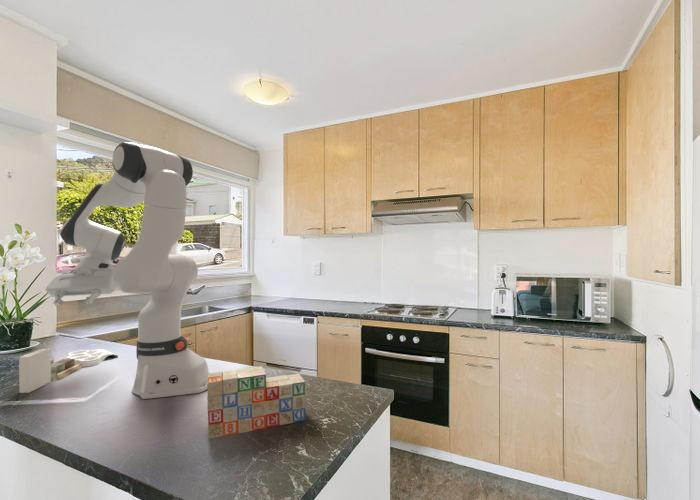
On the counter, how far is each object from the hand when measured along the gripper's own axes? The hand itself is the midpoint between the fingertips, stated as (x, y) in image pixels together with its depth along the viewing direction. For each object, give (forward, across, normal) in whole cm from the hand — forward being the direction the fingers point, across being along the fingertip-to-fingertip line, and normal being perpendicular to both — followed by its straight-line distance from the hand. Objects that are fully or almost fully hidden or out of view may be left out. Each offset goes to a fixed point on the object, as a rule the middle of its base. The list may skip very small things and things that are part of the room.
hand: (72, 303), depth 114 cm
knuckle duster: (+7, -4, +27) cm, 28 cm away
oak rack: (+17, -6, +16) cm, 24 cm away
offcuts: (+16, -4, +15) cm, 23 cm away
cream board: (+25, -3, +8) cm, 26 cm away
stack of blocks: (+46, +64, -9) cm, 80 cm away
